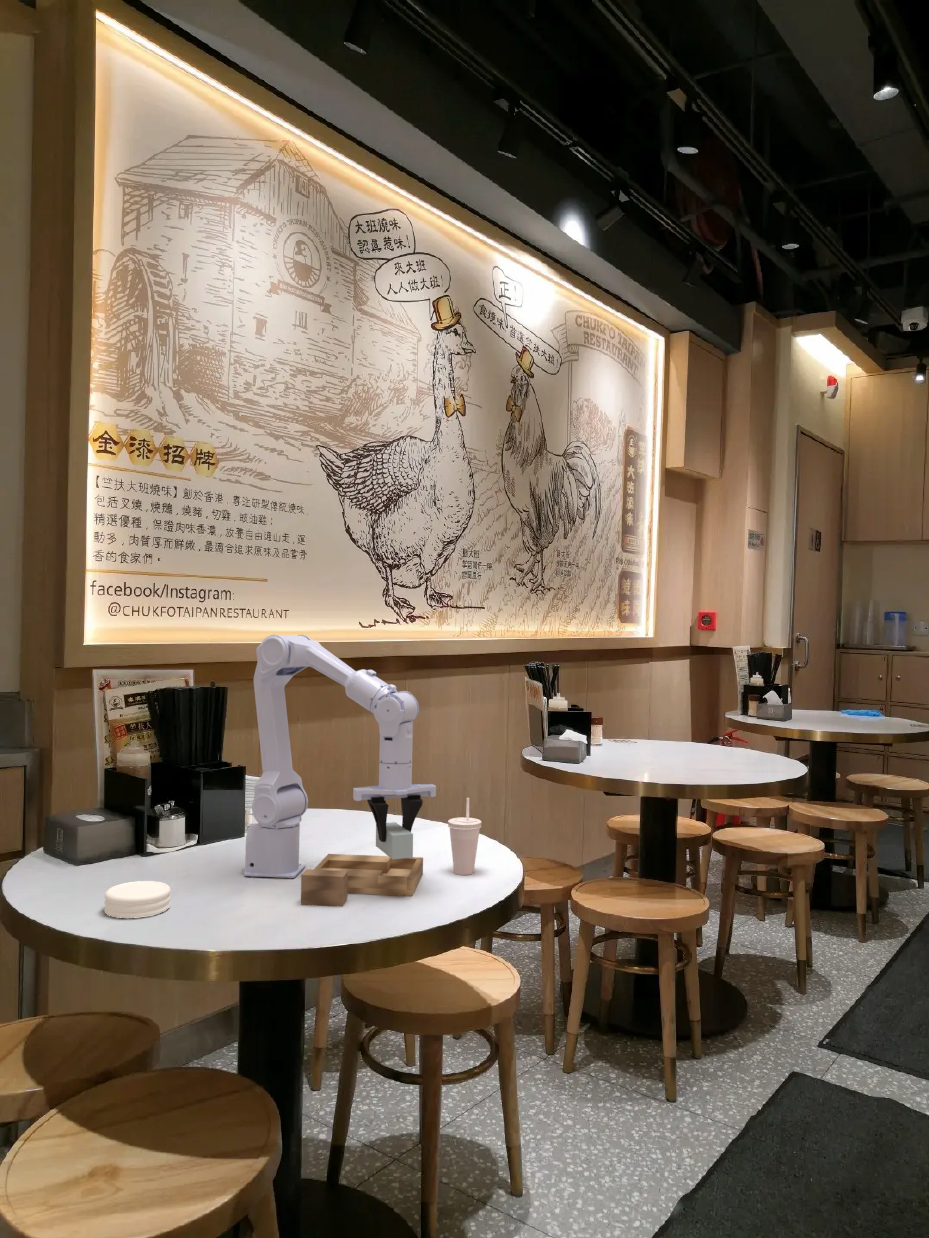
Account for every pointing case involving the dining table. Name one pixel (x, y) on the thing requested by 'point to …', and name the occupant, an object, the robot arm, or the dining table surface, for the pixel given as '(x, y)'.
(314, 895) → the brown wooden block
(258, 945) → the dining table surface
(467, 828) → the smoothie
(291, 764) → the robot arm
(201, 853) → the dining table surface
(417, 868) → the jig
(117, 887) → the coaster
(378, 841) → the grey square post
